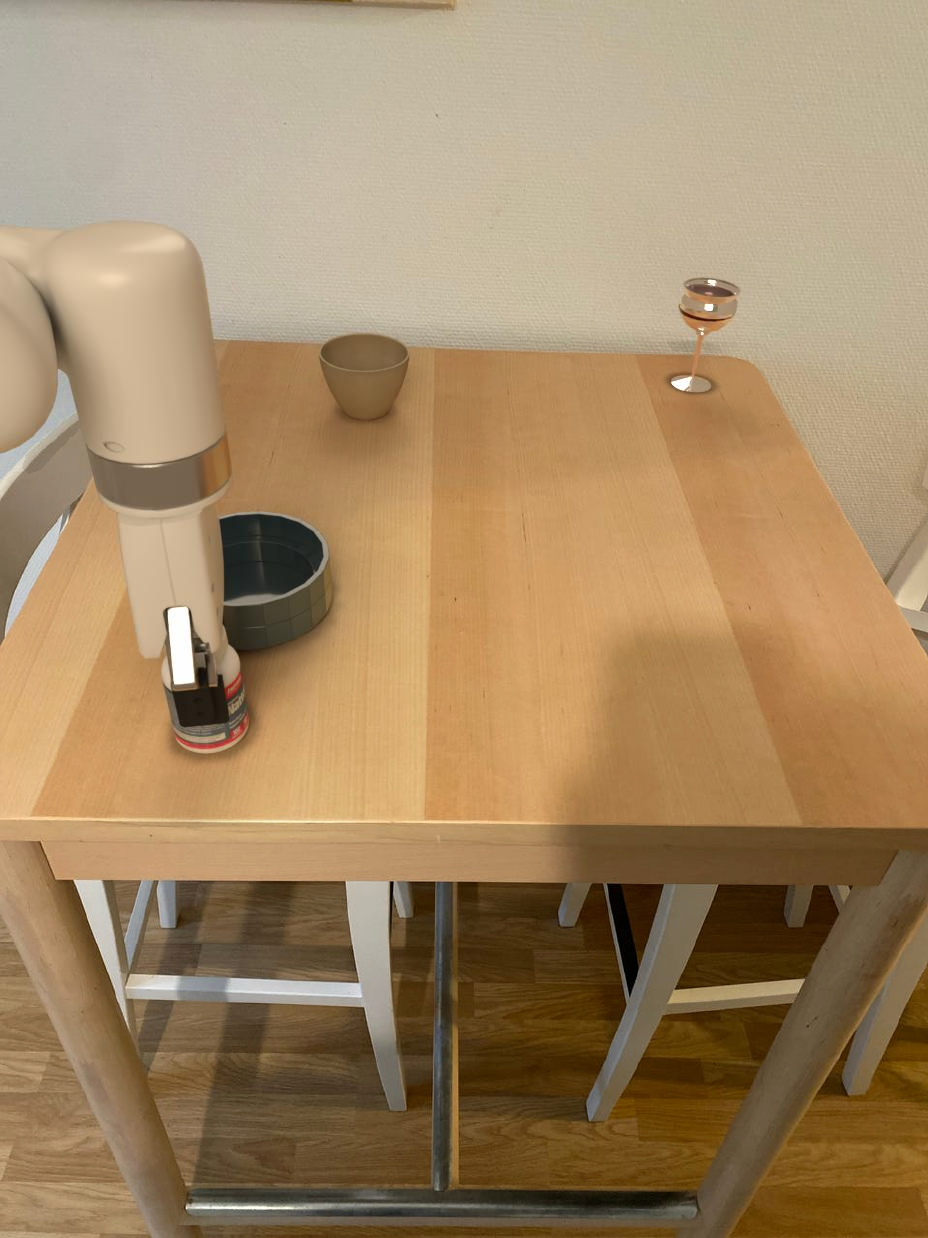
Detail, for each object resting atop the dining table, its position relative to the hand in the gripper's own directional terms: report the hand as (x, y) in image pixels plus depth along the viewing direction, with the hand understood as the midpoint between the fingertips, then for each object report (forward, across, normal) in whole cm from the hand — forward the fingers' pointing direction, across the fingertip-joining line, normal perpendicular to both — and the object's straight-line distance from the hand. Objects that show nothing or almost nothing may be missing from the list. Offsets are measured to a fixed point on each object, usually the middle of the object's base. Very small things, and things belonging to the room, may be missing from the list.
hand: (206, 689), depth 63 cm
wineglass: (+4, -51, +57) cm, 77 cm away
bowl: (+4, -14, +3) cm, 15 cm away
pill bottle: (+4, 0, 0) cm, 4 cm away
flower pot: (+4, -48, +16) cm, 51 cm away
